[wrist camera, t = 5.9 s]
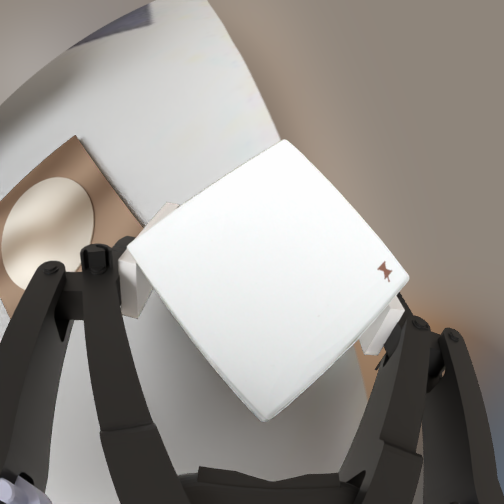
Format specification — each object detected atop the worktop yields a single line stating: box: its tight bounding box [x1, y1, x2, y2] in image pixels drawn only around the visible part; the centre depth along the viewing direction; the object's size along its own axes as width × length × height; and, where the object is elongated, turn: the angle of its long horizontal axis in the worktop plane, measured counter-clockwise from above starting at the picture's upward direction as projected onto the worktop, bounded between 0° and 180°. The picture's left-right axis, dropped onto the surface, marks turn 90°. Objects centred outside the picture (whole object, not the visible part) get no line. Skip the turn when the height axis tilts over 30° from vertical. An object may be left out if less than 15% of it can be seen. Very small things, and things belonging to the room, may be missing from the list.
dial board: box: [0, 135, 144, 319], centre depth 20 cm, size 14×14×1 cm
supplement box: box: [127, 140, 409, 422], centre depth 15 cm, size 7×7×13 cm
